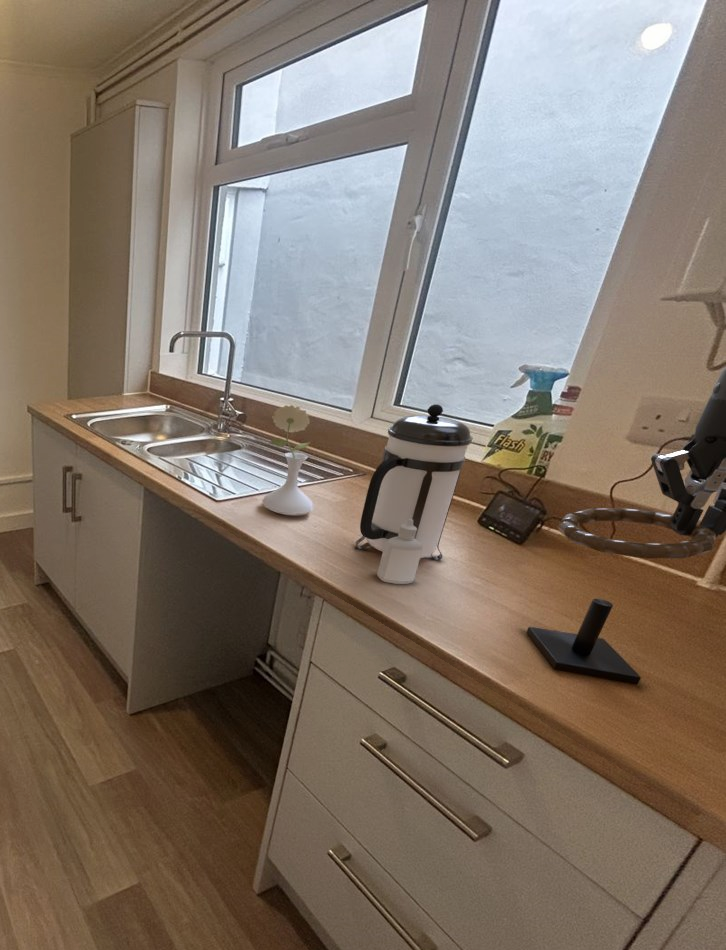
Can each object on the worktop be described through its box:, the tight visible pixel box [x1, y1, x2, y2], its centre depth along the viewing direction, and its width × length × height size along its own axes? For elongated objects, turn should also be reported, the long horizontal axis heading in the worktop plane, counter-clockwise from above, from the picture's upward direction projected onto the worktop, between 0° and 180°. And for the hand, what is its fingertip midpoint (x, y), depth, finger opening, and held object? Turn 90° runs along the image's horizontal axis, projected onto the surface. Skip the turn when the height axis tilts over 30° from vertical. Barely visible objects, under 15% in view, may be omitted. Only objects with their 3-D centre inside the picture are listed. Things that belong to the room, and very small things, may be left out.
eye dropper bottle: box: [376, 519, 423, 585], centre depth 94 cm, size 4×6×12 cm
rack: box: [526, 598, 642, 685], centre depth 74 cm, size 9×9×9 cm
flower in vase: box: [262, 404, 315, 516], centre depth 122 cm, size 13×11×25 cm
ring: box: [557, 507, 717, 559], centre depth 68 cm, size 14×14×2 cm
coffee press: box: [355, 403, 473, 561], centre depth 99 cm, size 17×16×30 cm
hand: (693, 534), depth 66 cm, fingers closed on ring, 2 cm apart
